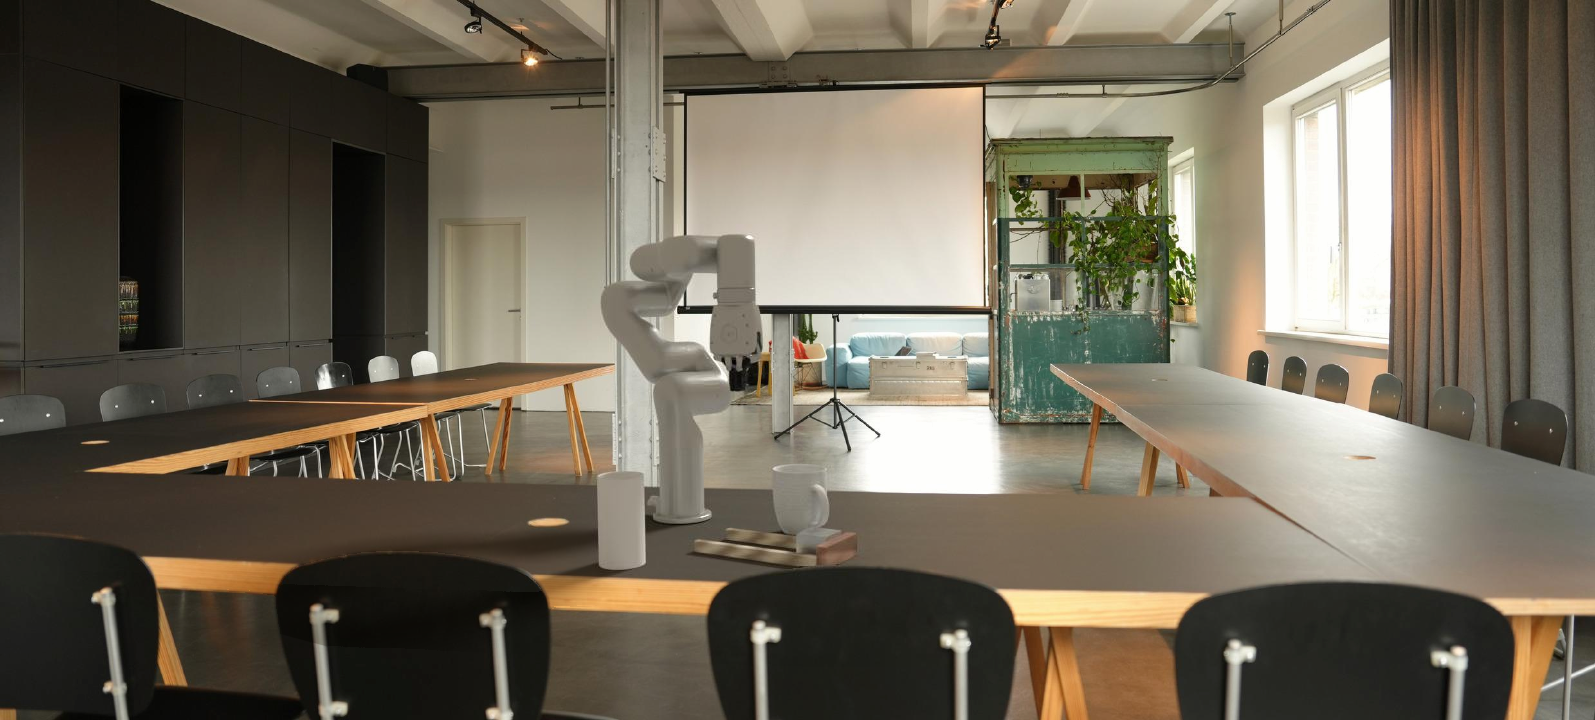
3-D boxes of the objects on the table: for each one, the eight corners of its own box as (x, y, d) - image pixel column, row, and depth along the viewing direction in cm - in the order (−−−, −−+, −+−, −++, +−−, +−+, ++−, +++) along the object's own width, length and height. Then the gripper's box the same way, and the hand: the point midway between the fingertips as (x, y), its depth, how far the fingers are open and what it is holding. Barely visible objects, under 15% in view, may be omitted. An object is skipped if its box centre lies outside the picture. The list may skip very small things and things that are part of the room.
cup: (601, 558, 175) (599, 471, 174) (647, 556, 176) (645, 470, 175) (596, 570, 167) (594, 479, 166) (643, 568, 167) (642, 478, 167)
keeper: (796, 560, 172) (796, 533, 172) (812, 553, 177) (812, 526, 177) (825, 565, 169) (825, 537, 169) (841, 557, 175) (841, 530, 174)
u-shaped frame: (694, 551, 179) (693, 530, 179) (729, 537, 189) (729, 517, 189) (826, 570, 165) (826, 547, 165) (857, 554, 176) (857, 533, 175)
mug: (849, 537, 189) (849, 471, 188) (803, 545, 183) (802, 477, 182) (807, 523, 201) (806, 461, 201) (762, 530, 195) (761, 467, 194)
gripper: (694, 298, 189) (695, 391, 190) (758, 297, 181) (759, 393, 182) (715, 298, 195) (717, 388, 196) (778, 297, 188) (779, 390, 189)
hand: (737, 390), depth 189 cm, fingers closed
